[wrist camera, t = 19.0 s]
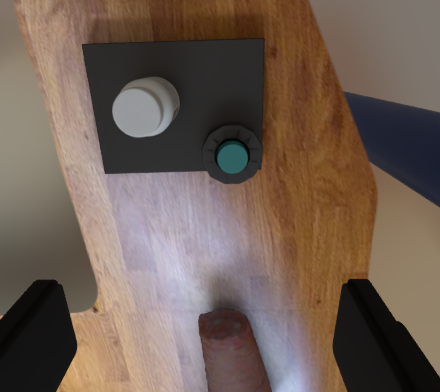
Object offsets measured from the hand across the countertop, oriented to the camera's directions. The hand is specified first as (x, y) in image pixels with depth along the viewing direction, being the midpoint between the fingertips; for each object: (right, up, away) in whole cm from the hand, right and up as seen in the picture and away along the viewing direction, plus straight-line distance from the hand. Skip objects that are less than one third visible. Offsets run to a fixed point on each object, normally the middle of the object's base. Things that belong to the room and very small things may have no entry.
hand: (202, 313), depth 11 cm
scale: (-3, +12, +20) cm, 24 cm away
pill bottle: (-5, +13, +19) cm, 23 cm away
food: (+4, -19, +34) cm, 39 cm away
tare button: (+2, +8, +19) cm, 21 cm away
